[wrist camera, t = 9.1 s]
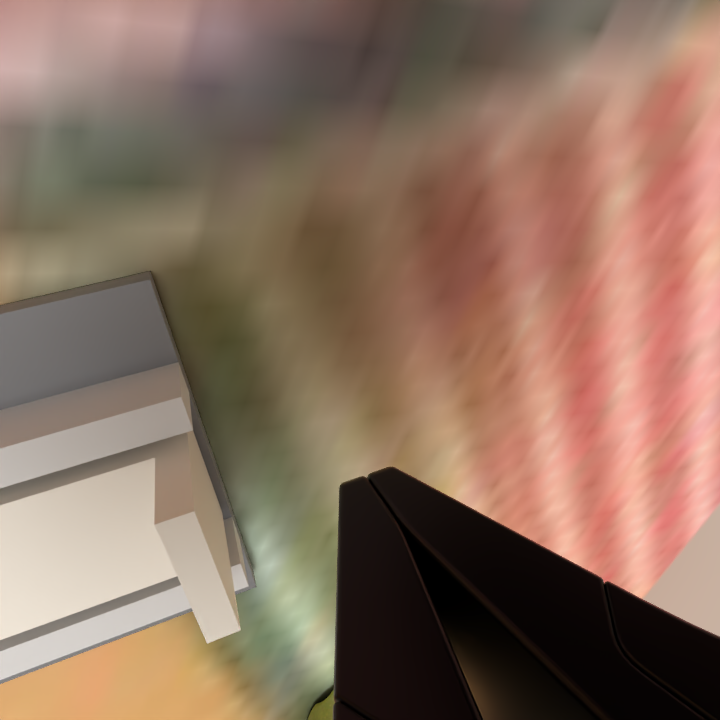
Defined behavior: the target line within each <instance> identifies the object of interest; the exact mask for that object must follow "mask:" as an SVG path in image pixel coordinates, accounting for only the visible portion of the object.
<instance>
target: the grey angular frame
mask: <svg viewBox="0 0 720 720" xmlns="http://www.w3.org/2000/svg"><path fill="white" fill-rule="evenodd" d="M192 430H193V432H194V435H195V438H196V440H197V443H198V446H199V449H200V452H201V454H202V457H203V460H204V463H205V466H206V468H207V471H208V474H209V477H210V480H211V482H212V485H213V488H214V491H215V494H216V496H217V499H218V502H219V505H220V508H221V510H222V514H223V521H224V527H225V533H226V540H227V546H228V552H229V559H230V565H231V571H232V578H233V584H234V590H235V595H236V594H239V593H241V592H244V591H247V590H249V589H252V588H254V587H256V583H255V578H254V573H253V569H252V566H251V563H250V560H249V557H248V554H247V551H246V548H245V545H244V542H243V539H242V537H241V534H240V531H239V528H238V525H237V522H236V519H235V516H234V513H233V510H232V507H231V505H230V502H229V499H228V496H227V493H226V490H225V487H224V484H223V481H222V478H221V475H220V472H219V470H218V467H217V464H216V461H215V458H214V455H213V452H212V449H211V446H210V443H209V440H208V438H207V435H206V432H205V429H204V426H203V423H202V420H201V417H200V414H199V411H198V408H197V406H196V403H195V400H194V397H193V394H192V391H191V388H190V385H189V382H188V379H187V376H186V374H185V371H184V368H183V365H182V362H181V359H180V356H179V353H178V350H177V347H176V344H175V341H174V339H173V336H172V333H171V330H170V327H169V324H168V321H167V318H166V315H165V312H164V309H163V307H162V304H161V301H160V298H159V295H158V292H157V289H156V286H155V283H154V280H153V277H152V275H151V272H150V271H148V272H144V273H140V274H135V275H131V276H126V277H122V278H118V279H113V280H109V281H105V282H100V283H96V284H91V285H87V286H83V287H78V288H74V289H70V290H65V291H61V292H56V293H52V294H48V295H43V296H39V297H35V298H30V299H26V300H21V301H17V302H13V303H8V304H4V305H0V488H3V487H7V486H10V485H13V484H17V483H20V482H23V481H26V480H30V479H33V478H36V477H40V476H43V475H46V474H50V473H53V472H56V471H60V470H63V469H66V468H70V467H73V466H76V465H80V464H83V463H86V462H90V461H93V460H96V459H99V458H103V457H106V456H109V455H113V454H116V453H119V452H123V451H126V450H129V449H133V448H136V447H139V446H143V445H146V444H149V443H153V442H156V441H159V440H163V439H166V438H169V437H172V436H176V435H179V434H182V433H186V432H189V431H192ZM191 611H193V610H192V608H191V606H190V604H189V601H188V599H187V597H186V595H185V592H184V590H183V588H182V586H181V583H180V581H179V579H178V577H177V576H176V577H174V578H171V579H168V580H165V581H163V582H160V583H157V584H154V585H152V586H149V587H146V588H143V589H140V590H138V591H135V592H132V593H129V594H127V595H124V596H121V597H118V598H116V599H113V600H110V601H107V602H105V603H102V604H99V605H96V606H94V607H91V608H88V609H85V610H82V611H80V612H77V613H74V614H71V615H69V616H66V617H63V618H60V619H58V620H55V621H52V622H49V623H47V624H44V625H41V626H38V627H36V628H33V629H30V630H27V631H24V632H22V633H19V634H16V635H13V636H11V637H8V638H5V639H2V640H0V684H1V683H4V682H7V681H9V680H12V679H15V678H17V677H20V676H23V675H25V674H28V673H30V672H33V671H36V670H38V669H41V668H44V667H46V666H49V665H52V664H54V663H57V662H59V661H62V660H65V659H67V658H70V657H73V656H75V655H78V654H81V653H83V652H86V651H88V650H91V649H94V648H96V647H99V646H102V645H104V644H107V643H110V642H112V641H115V640H117V639H120V638H123V637H125V636H128V635H131V634H133V633H136V632H139V631H141V630H144V629H146V628H149V627H152V626H154V625H157V624H160V623H162V622H165V621H167V620H170V619H173V618H175V617H178V616H181V615H183V614H186V613H189V612H191Z"/></svg>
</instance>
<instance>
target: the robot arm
mask: <svg viewBox="0 0 720 720" xmlns="http://www.w3.org/2000/svg"><path fill="white" fill-rule="evenodd" d="M334 702H335V704H334V705H333V719H332V720H720V637H719V636H717V635H715V634H713V633H710V632H708V631H706V630H704V629H702V628H699V627H697V626H695V625H693V624H691V623H689V622H686V621H685V620H683V619H681V618H679V617H677V616H674V615H673V614H671V613H669V612H667V611H664V610H663V609H661V608H659V607H657V606H655V605H653V604H651V603H649V602H647V601H645V600H643V599H641V598H639V597H637V596H635V595H633V594H632V593H630V592H628V591H626V590H624V589H622V588H620V587H618V586H617V585H615V584H613V583H611V582H608V581H607V582H605V583H604V582H603V579H602V578H601V577H599V576H597V575H596V574H594V573H592V572H590V571H588V570H586V569H584V568H582V567H581V566H579V565H577V564H575V563H573V562H571V561H569V560H567V559H566V558H564V557H562V556H560V555H558V554H556V553H554V552H552V551H551V550H549V549H547V548H545V547H543V546H541V545H539V544H537V543H536V542H534V541H532V540H530V539H528V538H526V537H524V536H522V535H521V534H519V533H517V532H515V531H513V530H511V529H509V528H507V527H506V526H504V525H502V524H500V523H498V522H496V521H494V520H492V519H491V518H489V517H487V516H485V515H483V514H481V513H479V512H477V511H476V510H474V509H472V508H470V507H468V506H466V505H464V504H462V503H461V502H459V501H457V500H455V499H453V498H451V497H449V496H448V495H446V494H444V493H442V492H440V491H438V490H436V489H434V488H433V487H431V486H429V485H427V484H425V483H423V482H421V481H419V480H418V479H416V478H414V477H412V476H410V475H408V474H406V473H404V472H403V471H401V470H399V469H397V468H395V467H387V468H384V469H381V470H378V471H376V472H373V473H370V474H369V475H368V477H367V478H366V477H363V476H361V477H358V478H355V479H352V480H350V481H347V482H344V483H342V484H341V485H340V488H339V521H338V557H337V592H336V628H335V663H334Z"/></svg>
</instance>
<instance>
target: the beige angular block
mask: <svg viewBox="0 0 720 720" xmlns="http://www.w3.org/2000/svg"><path fill="white" fill-rule="evenodd" d="M176 576H177V577H178V579H179V581H180V583H181V586H182V588H183V590H184V592H185V595H186V597H187V599H188V601H189V604H190V606H191V608H192V610H193V613H194V615H195V617H196V619H197V622H198V624H199V626H200V628H201V631H202V633H203V635H204V637H205V640H206V642H207V643H210V642H212V641H215V640H217V639H220V638H222V637H225V636H227V635H230V634H232V633H235V632H238V631H240V630H241V628H240V622H239V616H238V609H237V603H236V597H235V590H234V584H233V578H232V571H231V565H230V559H229V552H228V546H227V540H226V533H225V527H224V521H223V514H222V510H221V508H220V505H219V502H218V499H217V496H216V494H215V491H214V488H213V485H212V482H211V480H210V477H209V474H208V471H207V468H206V466H205V463H204V460H203V457H202V454H201V452H200V449H199V446H198V443H197V440H196V438H195V435H194V432H193V430H192V431H189V432H186V433H182V434H179V435H176V436H172V437H169V438H166V439H163V440H159V441H156V442H153V443H149V444H146V445H143V446H139V447H136V448H133V449H129V450H126V451H123V452H119V453H116V454H113V455H109V456H106V457H103V458H99V459H96V460H93V461H90V462H86V463H83V464H80V465H76V466H73V467H70V468H66V469H63V470H60V471H56V472H53V473H50V474H46V475H43V476H40V477H36V478H33V479H30V480H26V481H23V482H20V483H17V484H13V485H10V486H7V487H3V488H0V640H2V639H5V638H8V637H11V636H13V635H16V634H19V633H22V632H24V631H27V630H30V629H33V628H36V627H38V626H41V625H44V624H47V623H49V622H52V621H55V620H58V619H60V618H63V617H66V616H69V615H71V614H74V613H77V612H80V611H82V610H85V609H88V608H91V607H94V606H96V605H99V604H102V603H105V602H107V601H110V600H113V599H116V598H118V597H121V596H124V595H127V594H129V593H132V592H135V591H138V590H140V589H143V588H146V587H149V586H152V585H154V584H157V583H160V582H163V581H165V580H168V579H171V578H174V577H176Z"/></svg>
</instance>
